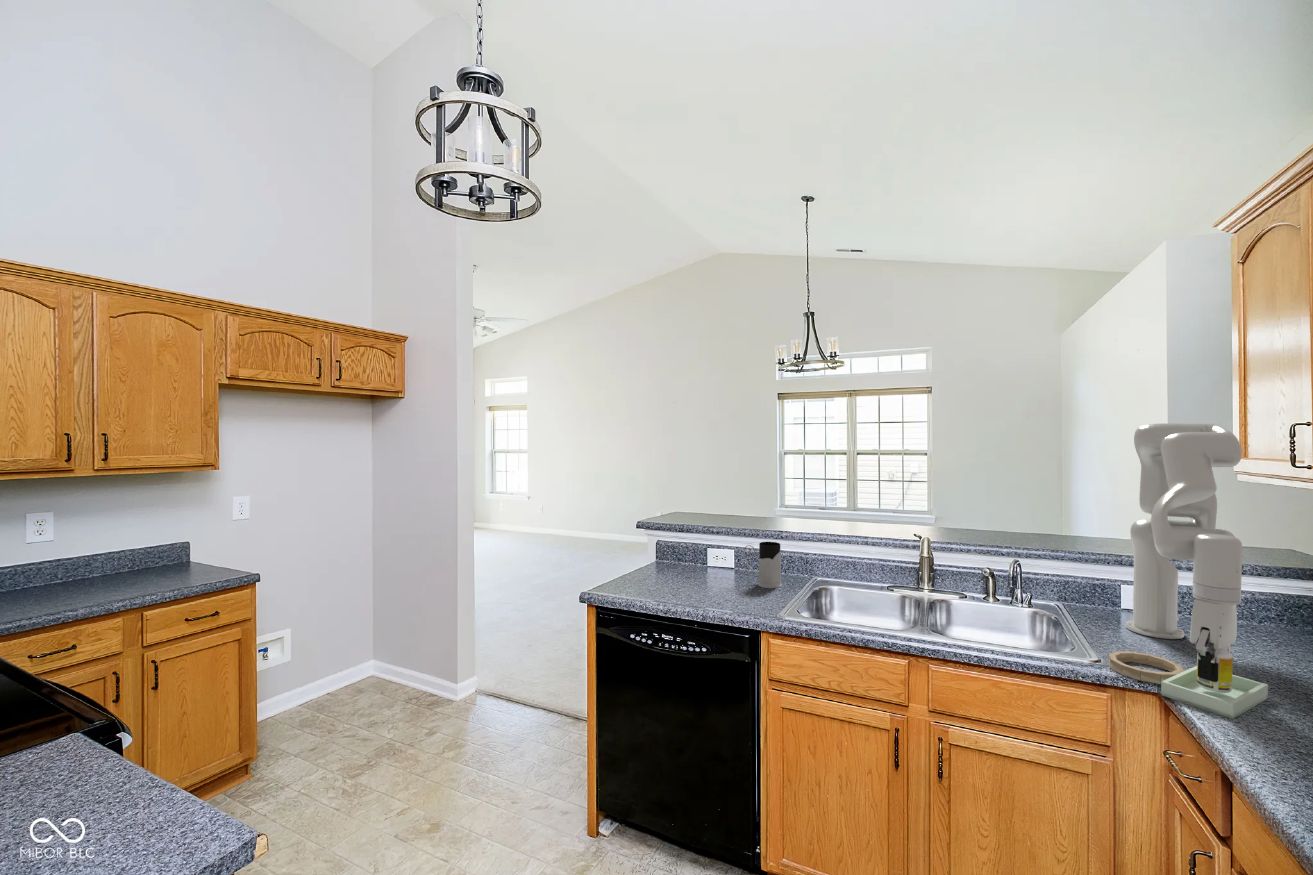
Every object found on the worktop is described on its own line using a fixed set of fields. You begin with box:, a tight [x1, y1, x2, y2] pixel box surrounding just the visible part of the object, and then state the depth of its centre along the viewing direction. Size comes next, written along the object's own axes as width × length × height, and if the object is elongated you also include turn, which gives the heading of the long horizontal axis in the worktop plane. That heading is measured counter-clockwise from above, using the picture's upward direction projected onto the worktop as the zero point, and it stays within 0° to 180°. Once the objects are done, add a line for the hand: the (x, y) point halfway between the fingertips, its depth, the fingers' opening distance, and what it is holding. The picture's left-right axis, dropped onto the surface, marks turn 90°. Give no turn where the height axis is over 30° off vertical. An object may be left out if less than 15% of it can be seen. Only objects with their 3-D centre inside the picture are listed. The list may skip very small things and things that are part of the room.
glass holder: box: [743, 541, 783, 589], centre depth 216 cm, size 9×14×15 cm, turn 64°
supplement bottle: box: [1196, 644, 1234, 693], centre depth 127 cm, size 6×6×10 cm
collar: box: [1108, 650, 1185, 685], centre depth 140 cm, size 13×13×2 cm
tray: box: [1160, 665, 1269, 720], centre depth 127 cm, size 18×12×3 cm, turn 119°
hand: (1214, 675), depth 127 cm, fingers closed on supplement bottle, 5 cm apart
